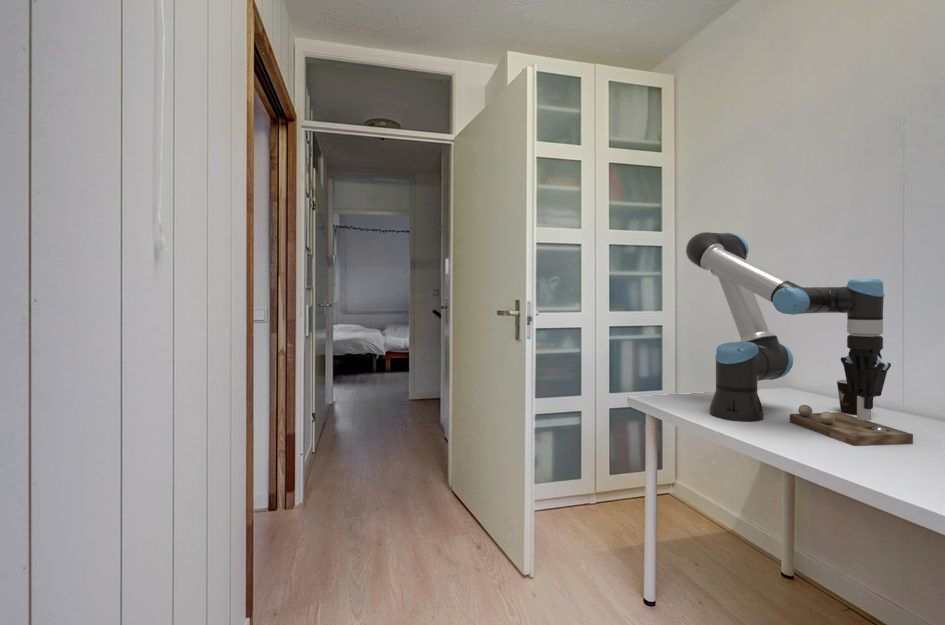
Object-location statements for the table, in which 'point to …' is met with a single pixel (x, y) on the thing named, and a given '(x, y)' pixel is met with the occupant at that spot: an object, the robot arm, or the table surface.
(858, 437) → the walnut plate
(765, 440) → the table surface
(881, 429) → the steel ball
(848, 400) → the coffee mug
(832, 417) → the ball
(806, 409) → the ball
